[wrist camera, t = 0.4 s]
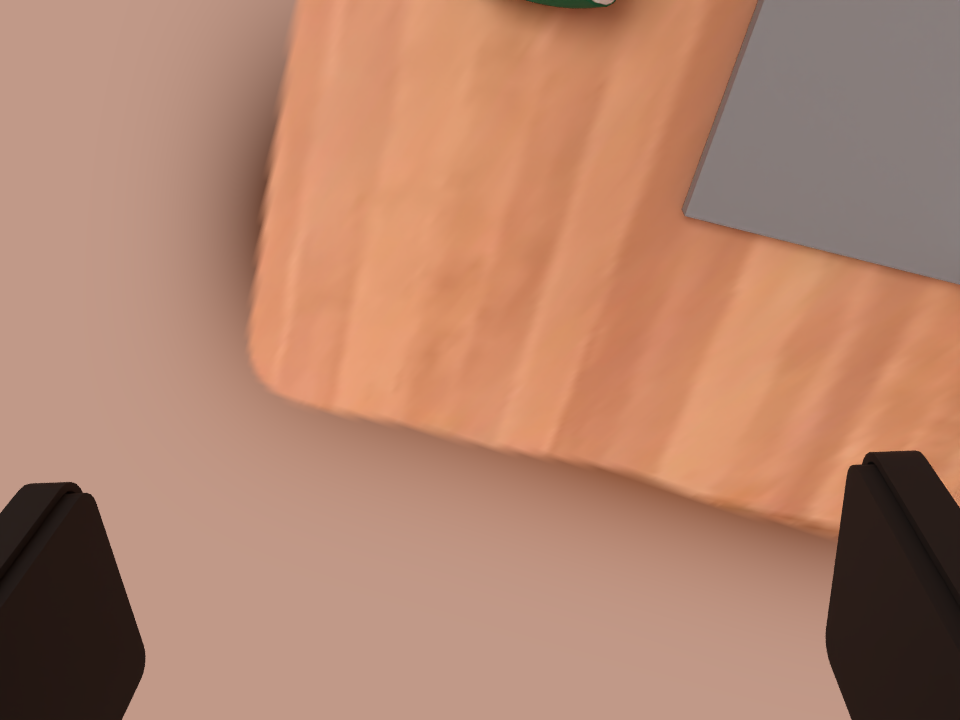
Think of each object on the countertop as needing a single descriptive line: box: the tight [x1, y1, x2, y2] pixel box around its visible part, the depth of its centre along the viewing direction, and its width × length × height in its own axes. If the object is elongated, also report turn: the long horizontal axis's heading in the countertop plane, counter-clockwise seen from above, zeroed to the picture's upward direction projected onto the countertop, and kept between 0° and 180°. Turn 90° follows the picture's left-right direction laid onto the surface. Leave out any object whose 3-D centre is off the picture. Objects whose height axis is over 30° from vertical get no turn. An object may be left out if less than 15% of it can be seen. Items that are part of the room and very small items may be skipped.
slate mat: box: [682, 0, 960, 285], centre depth 35 cm, size 16×13×1 cm
